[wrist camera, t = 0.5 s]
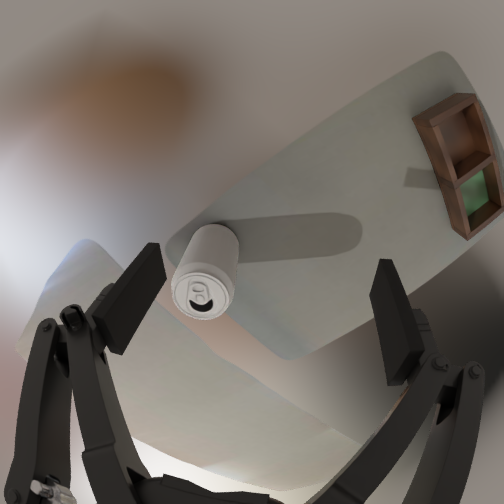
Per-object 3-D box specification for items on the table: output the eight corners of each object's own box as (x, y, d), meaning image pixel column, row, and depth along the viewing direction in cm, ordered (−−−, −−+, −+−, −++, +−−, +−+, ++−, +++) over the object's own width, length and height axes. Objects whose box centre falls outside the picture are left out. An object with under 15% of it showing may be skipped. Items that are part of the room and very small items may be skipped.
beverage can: (196, 266, 39) (175, 323, 28) (188, 223, 36) (161, 271, 25) (241, 264, 38) (236, 323, 28) (237, 219, 35) (228, 268, 25)
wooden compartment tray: (411, 118, 28) (429, 120, 25) (456, 92, 26) (475, 93, 22) (452, 229, 35) (467, 241, 31) (490, 200, 32) (506, 209, 29)
